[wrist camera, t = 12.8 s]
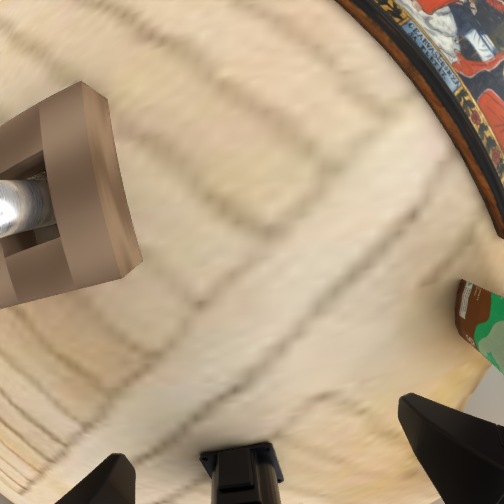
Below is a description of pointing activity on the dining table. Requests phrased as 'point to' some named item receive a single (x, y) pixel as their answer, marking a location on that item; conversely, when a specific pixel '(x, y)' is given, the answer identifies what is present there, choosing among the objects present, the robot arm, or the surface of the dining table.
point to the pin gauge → (25, 206)
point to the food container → (481, 321)
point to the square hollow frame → (67, 198)
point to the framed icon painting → (452, 74)
